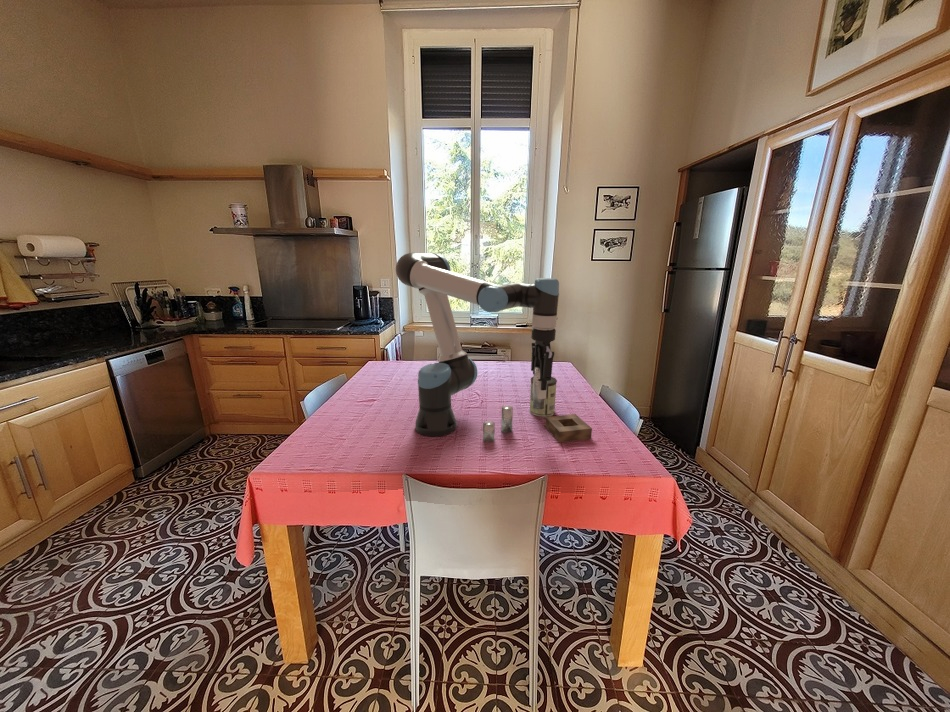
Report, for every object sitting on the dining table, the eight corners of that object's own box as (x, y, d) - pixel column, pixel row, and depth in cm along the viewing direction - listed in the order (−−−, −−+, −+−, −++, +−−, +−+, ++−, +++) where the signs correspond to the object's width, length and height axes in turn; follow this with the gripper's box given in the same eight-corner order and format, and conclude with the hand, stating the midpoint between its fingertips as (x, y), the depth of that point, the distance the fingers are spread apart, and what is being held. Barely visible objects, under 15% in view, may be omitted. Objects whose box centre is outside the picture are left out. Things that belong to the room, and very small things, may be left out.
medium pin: (502, 433, 127) (503, 410, 124) (499, 428, 130) (500, 406, 128) (513, 432, 127) (514, 409, 125) (510, 427, 131) (510, 405, 129)
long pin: (534, 409, 118) (537, 370, 114) (530, 405, 122) (533, 366, 118) (546, 408, 119) (549, 369, 115) (541, 404, 123) (544, 365, 119)
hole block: (558, 442, 120) (559, 431, 119) (545, 426, 132) (545, 416, 131) (591, 438, 123) (592, 428, 122) (574, 423, 134) (575, 414, 133)
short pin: (484, 442, 120) (484, 426, 119) (481, 437, 124) (481, 421, 122) (495, 441, 121) (496, 425, 119) (492, 436, 125) (493, 420, 123)
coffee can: (533, 405, 151) (534, 373, 148) (557, 409, 147) (559, 377, 144) (526, 414, 142) (527, 381, 139) (551, 419, 138) (553, 385, 135)
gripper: (566, 333, 105) (560, 405, 112) (544, 322, 121) (539, 386, 128) (543, 333, 104) (537, 406, 110) (523, 323, 120) (520, 387, 126)
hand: (539, 395), depth 119 cm, fingers closed on long pin, 4 cm apart
